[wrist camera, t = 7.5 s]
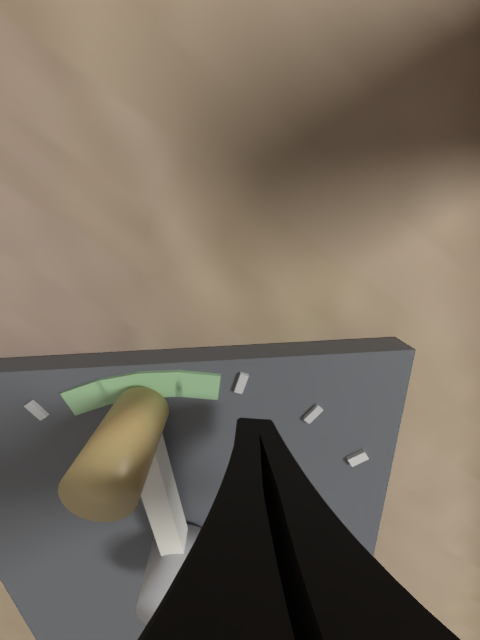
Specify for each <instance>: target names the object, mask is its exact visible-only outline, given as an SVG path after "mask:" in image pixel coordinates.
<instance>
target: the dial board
mask: <svg viewBox="0 0 480 640" xmlns="http://www.w3.org/2000/svg"><path fill="white" fill-rule="evenodd" d="M414 354H415V349H414V348H412V347H410V346H409V345H407V344H406V343H404V342H403V341H401V340H399V339H398V338H396V337H385V338H366V339H348V340H329V341H311V342H292V343H274V344H255V345H237V346H218V347H200V348H181V349H163V350H144V351H126V352H107V353H89V354H70V355H52V356H33V357H15V358H0V580H1V581H2V583H3V585H4V586H5V588H6V590H7V592H8V593H9V595H10V597H11V598H12V600H13V602H14V603H15V605H16V607H17V608H18V610H19V612H20V613H21V615H22V617H23V619H24V620H25V622H26V624H27V625H28V627H29V629H30V630H31V632H32V634H33V635H34V637H35V639H36V640H138V638H139V636H140V635H141V633H142V632H143V630H144V628H145V627H146V625H145V624H144V623H142V622H141V621H140V620H139V618H138V617H137V615H136V606H137V602H138V598H139V594H140V590H141V586H142V582H143V578H144V574H145V570H146V566H147V563H148V559H149V555H150V551H151V547H152V543H153V539H154V534H153V531H152V528H151V525H150V522H149V519H148V516H147V513H146V510H145V507H144V504H143V501H142V498H141V496H140V499H139V502H138V505H137V507H136V509H135V510H134V511H133V512H132V513H131V514H130V515H128V516H127V517H125V518H123V519H120V520H117V521H113V522H94V521H90V520H86V519H83V518H81V517H78V516H76V515H75V514H73V513H72V512H70V511H69V510H68V509H67V508H66V507H65V506H64V505H63V504H62V502H61V500H60V498H59V495H58V486H59V483H60V481H61V479H62V478H63V477H64V475H65V474H66V472H67V471H68V469H69V468H70V466H71V465H72V464H73V462H74V461H75V459H76V458H77V456H78V455H79V453H80V452H81V451H82V449H83V448H84V446H85V445H86V443H87V442H88V440H89V439H90V437H91V436H92V435H93V433H94V432H95V430H96V429H97V427H98V426H99V424H100V423H101V422H102V420H103V419H104V417H105V416H106V414H107V413H108V411H109V410H110V409H111V407H112V406H113V404H114V403H115V401H116V400H117V398H118V397H119V396H120V395H121V393H123V392H124V391H126V390H127V389H130V388H134V387H146V388H150V389H153V390H155V391H157V392H158V393H160V394H161V395H162V396H163V397H164V398H165V400H166V401H167V403H168V406H169V415H168V418H167V421H166V424H165V427H164V430H163V432H162V434H163V438H164V441H165V445H166V449H167V453H168V456H169V460H170V464H171V467H172V471H173V475H174V479H175V482H176V486H177V490H178V494H179V497H180V501H181V505H182V509H183V512H184V516H185V520H186V524H188V525H194V526H197V527H200V528H202V526H203V524H204V522H205V520H206V518H207V515H208V513H209V511H210V509H211V507H212V504H213V502H214V500H215V498H216V495H217V493H218V490H219V488H220V485H221V483H222V480H223V477H224V475H225V472H226V469H227V467H228V464H229V460H230V457H231V454H232V450H233V447H234V439H235V431H236V424H237V419H239V418H255V419H270V420H272V421H273V423H274V425H275V426H276V428H277V430H278V432H279V434H280V435H281V437H282V439H283V440H284V442H285V444H286V445H287V447H288V449H289V450H290V452H291V454H292V455H293V457H294V458H295V460H296V461H297V463H298V464H299V466H300V467H301V469H302V470H303V472H304V473H305V475H306V476H307V478H308V479H309V480H310V482H311V483H312V485H313V486H314V487H315V489H316V490H317V491H318V493H319V494H320V495H321V497H322V498H323V499H324V501H325V502H326V503H327V504H328V506H329V507H330V508H331V509H332V511H333V512H334V513H335V514H336V515H337V517H338V518H339V519H340V520H341V522H342V523H343V524H344V525H345V526H346V527H347V528H348V530H349V531H350V532H351V533H352V534H353V535H354V536H355V538H356V539H357V540H358V541H359V542H360V543H361V544H362V545H363V546H364V547H365V548H366V549H367V551H368V552H369V553H370V554H371V555H372V556H373V554H374V550H375V545H376V540H377V535H378V530H379V525H380V520H381V515H382V511H383V506H384V501H385V496H386V491H387V486H388V481H389V476H390V472H391V467H392V462H393V457H394V452H395V447H396V442H397V437H398V432H399V428H400V423H401V418H402V413H403V408H404V403H405V398H406V393H407V389H408V384H409V379H410V374H411V369H412V364H413V359H414Z"/></svg>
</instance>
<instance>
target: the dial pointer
mask: <svg viewBox="0 0 480 640" xmlns="http://www.w3.org/2000/svg"><path fill="white" fill-rule="evenodd" d="M168 415H169V406H168V403H167V401H166V400H165V398H164V397H163V396H162V395H161V394H160V393H158V392H157V391H155V390H153V389H150V388H146V387H134V388H130V389H127V390H126V391H124V392H123V393H121V395H120V396H119V397H118V398H117V400H116V401H115V403H114V404H113V406H112V407H111V409H110V410H109V411H108V413H107V414H106V416H105V417H104V419H103V420H102V422H101V423H100V424H99V426H98V427H97V429H96V430H95V432H94V433H93V435H92V436H91V437H90V439H89V440H88V442H87V443H86V445H85V446H84V448H83V449H82V451H81V452H80V453H79V455H78V456H77V458H76V459H75V461H74V462H73V464H72V465H71V466H70V468H69V469H68V471H67V472H66V474H65V475H64V477H63V478H62V479H61V481H60V483H59V486H58V495H59V498H60V500H61V502H62V504H63V505H64V506H65V507H66V508H67V509H68V510H69V511H70V512H72V513H73V514H75V515H76V516H78V517H81V518H83V519H86V520H90V521H94V522H113V521H117V520H120V519H123V518H125V517H127V516H128V515H130V514H131V513H132V512H133V511H134V510H135V509H136V507H137V505H138V502H139V499H140V496H141V498H142V501H143V504H144V507H145V510H146V513H147V516H148V519H149V522H150V525H151V528H152V531H153V534H154V539H153V543H152V547H151V551H150V555H149V559H148V563H147V566H146V570H145V574H144V578H143V582H142V586H141V590H140V594H139V598H138V602H137V606H136V615H137V617H138V618H139V620H140V621H141V622H142V623H144V624H145V625H147V624H148V622H149V620H150V619H151V617H152V616H153V614H154V612H155V611H156V609H157V607H158V606H159V604H160V603H161V601H162V599H163V597H164V596H165V594H166V592H167V591H168V589H169V587H170V585H171V584H172V582H173V580H174V578H175V576H176V575H177V573H178V571H179V569H180V568H181V566H182V564H183V562H184V560H185V559H186V557H187V555H188V553H189V551H190V549H191V548H192V546H193V544H194V542H195V540H196V538H197V536H198V534H199V532H200V530H201V528H200V527H197V526H194V525H188V524H186V520H185V516H184V512H183V509H182V505H181V501H180V497H179V494H178V490H177V486H176V482H175V479H174V475H173V471H172V467H171V464H170V460H169V456H168V453H167V449H166V445H165V441H164V438H163V434H162V432H163V430H164V427H165V424H166V421H167V418H168Z"/></svg>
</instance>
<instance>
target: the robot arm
mask: <svg viewBox="0 0 480 640" xmlns="http://www.w3.org/2000/svg"><path fill="white" fill-rule="evenodd" d="M138 640H460V639H459V638H458V637H457V636H456V635H455V634H453V633H452V632H451V631H450V630H449V629H448V628H447V627H446V626H444V625H443V624H442V623H441V622H440V621H439V620H438V619H437V618H435V617H434V616H433V615H432V614H431V613H430V612H429V611H428V610H427V609H426V608H424V607H423V606H422V605H421V604H420V603H419V602H418V601H417V600H416V599H415V598H414V597H413V596H412V595H411V594H410V593H409V592H408V591H407V590H406V589H405V588H404V587H403V586H402V585H401V584H399V583H398V582H397V581H396V580H395V579H394V578H393V577H392V576H391V575H390V574H389V572H388V571H387V570H386V569H385V568H384V567H383V566H382V565H381V564H380V563H379V562H378V561H377V560H376V559H375V558H374V557H373V556H372V555H371V554H370V553H369V552H368V551H367V549H366V548H365V547H364V546H363V545H362V544H361V543H360V542H359V541H358V540H357V539H356V538H355V536H354V535H353V534H352V533H351V532H350V531H349V530H348V528H347V527H346V526H345V525H344V524H343V523H342V522H341V520H340V519H339V518H338V517H337V515H336V514H335V513H334V512H333V511H332V509H331V508H330V507H329V506H328V504H327V503H326V502H325V501H324V499H323V498H322V497H321V495H320V494H319V493H318V491H317V490H316V489H315V487H314V486H313V485H312V483H311V482H310V480H309V479H308V478H307V476H306V475H305V473H304V472H303V470H302V469H301V467H300V466H299V464H298V463H297V461H296V460H295V458H294V457H293V455H292V454H291V452H290V450H289V449H288V447H287V445H286V444H285V442H284V440H283V439H282V437H281V435H280V434H279V432H278V430H277V428H276V426H275V425H274V423H273V421H272V420H270V419H255V418H239V419H237V424H236V431H235V439H234V447H233V450H232V454H231V457H230V460H229V464H228V467H227V469H226V472H225V475H224V477H223V480H222V483H221V485H220V488H219V490H218V493H217V495H216V498H215V500H214V502H213V504H212V507H211V509H210V511H209V513H208V515H207V518H206V520H205V522H204V524H203V526H202V528H201V530H200V532H199V534H198V536H197V538H196V540H195V542H194V544H193V546H192V548H191V549H190V551H189V553H188V555H187V557H186V559H185V560H184V562H183V564H182V566H181V568H180V569H179V571H178V573H177V575H176V576H175V578H174V580H173V582H172V584H171V585H170V587H169V589H168V591H167V592H166V594H165V596H164V597H163V599H162V601H161V603H160V604H159V606H158V607H157V609H156V611H155V612H154V614H153V616H152V617H151V619H150V620H149V622H148V624H147V625H146V627H145V628H144V630H143V632H142V633H141V635H140V636H139V638H138Z"/></svg>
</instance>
